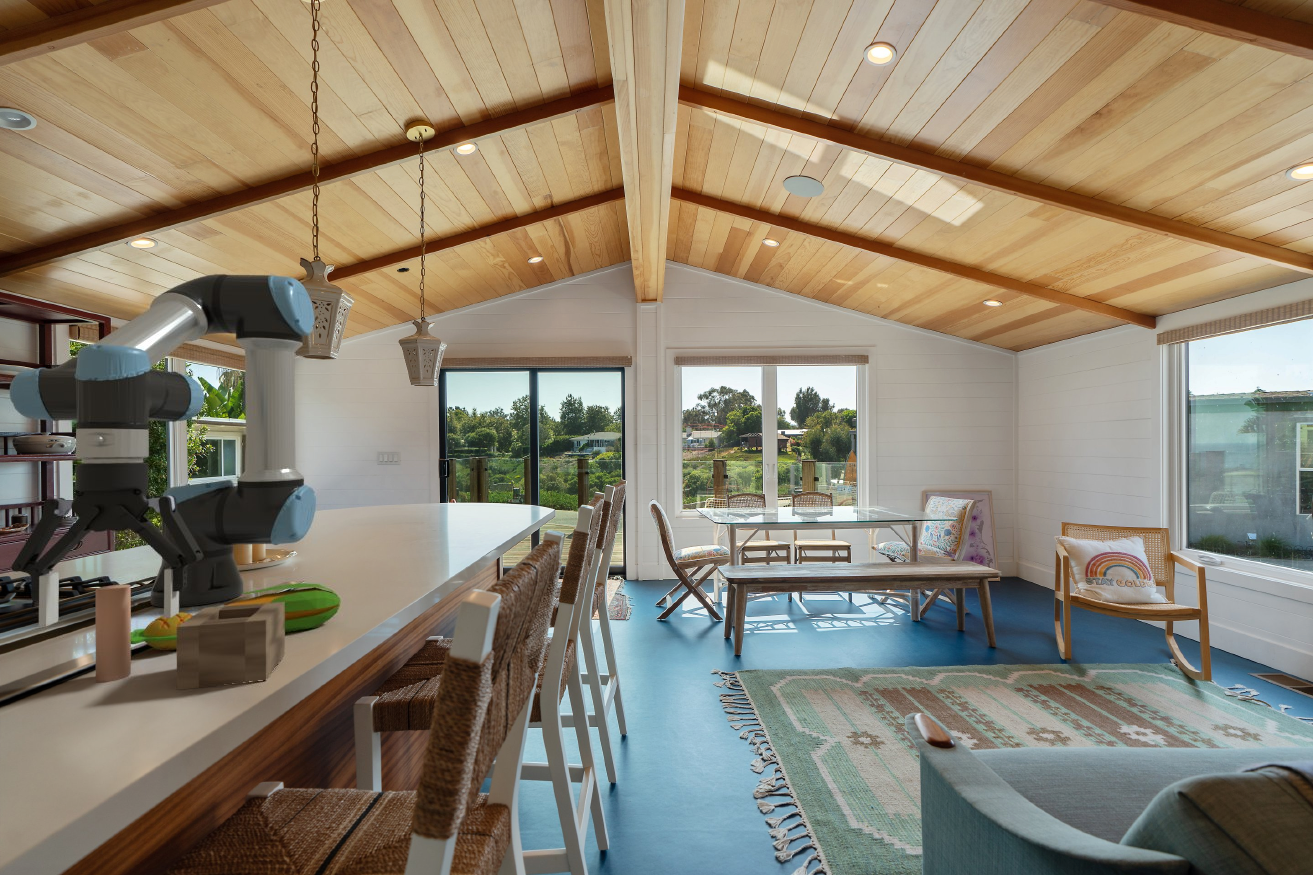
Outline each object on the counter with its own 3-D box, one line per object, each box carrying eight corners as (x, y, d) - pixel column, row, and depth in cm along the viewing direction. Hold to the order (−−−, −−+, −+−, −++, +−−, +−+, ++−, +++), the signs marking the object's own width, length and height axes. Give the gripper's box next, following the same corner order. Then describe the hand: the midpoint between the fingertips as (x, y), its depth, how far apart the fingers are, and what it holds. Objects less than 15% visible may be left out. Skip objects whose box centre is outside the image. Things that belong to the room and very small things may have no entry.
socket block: (205, 663, 91) (205, 607, 91) (284, 656, 94) (284, 601, 94) (176, 689, 82) (176, 627, 82) (266, 680, 85) (265, 620, 85)
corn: (343, 581, 109) (199, 598, 98) (344, 626, 109) (199, 648, 98) (337, 576, 115) (200, 591, 104) (337, 619, 115) (200, 639, 104)
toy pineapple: (204, 649, 97) (204, 614, 97) (119, 663, 92) (118, 625, 92) (205, 638, 103) (205, 604, 103) (124, 650, 97) (124, 614, 97)
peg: (104, 673, 88) (104, 585, 88) (135, 670, 89) (135, 583, 89) (89, 683, 84) (89, 591, 84) (123, 679, 85) (122, 589, 85)
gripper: (-25, 463, 79) (-27, 636, 79) (210, 461, 87) (209, 618, 86) (14, 461, 86) (12, 620, 86) (229, 460, 94) (228, 605, 93)
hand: (111, 619), depth 86 cm, fingers open, 13 cm apart
